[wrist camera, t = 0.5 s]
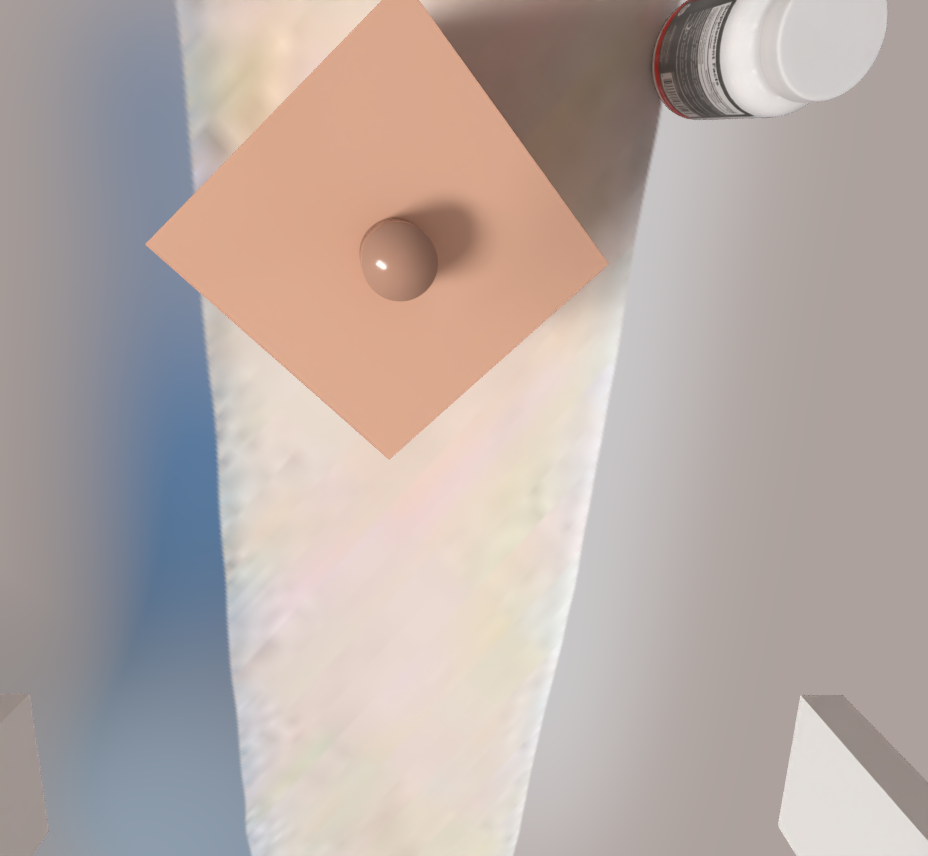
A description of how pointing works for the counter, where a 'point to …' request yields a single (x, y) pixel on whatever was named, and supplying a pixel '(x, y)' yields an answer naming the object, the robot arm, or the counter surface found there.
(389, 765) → the counter surface
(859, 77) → the pill bottle
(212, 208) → the cube with knob
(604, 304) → the counter surface
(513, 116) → the counter surface
